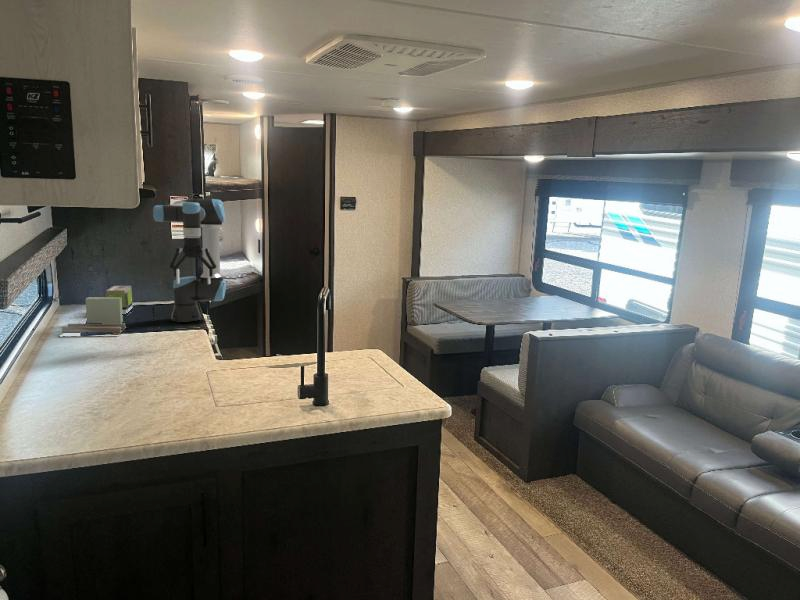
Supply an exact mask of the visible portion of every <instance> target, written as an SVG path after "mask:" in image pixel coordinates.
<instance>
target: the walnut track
mask: <svg viewBox="0 0 800 600" xmlns="http://www.w3.org/2000/svg"><path fill="white" fill-rule="evenodd" d="M126 326H127V325H126V323H125V322H123V323H102V324H87V323H68V324H67V326H62V327H61V333H80V332H112V333H113V334H111V335H119V334H120V333H121V332H122V331H123V330H124V329H125V328H127V327H126ZM121 329H123V330H121Z"/></svg>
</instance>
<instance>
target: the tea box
mask: <svg viewBox="0 0 800 600" xmlns="http://www.w3.org/2000/svg"><path fill="white" fill-rule="evenodd" d="M105 297H122V314H126V313H128V312H129V311H130V310H131V309H132V308H133V307H134V305H133V294H132V285H113V286H111V287H109V288H108V289H106V290H105ZM133 309H134V308H133Z"/></svg>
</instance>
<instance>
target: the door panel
mask: <svg viewBox="0 0 800 600" xmlns="http://www.w3.org/2000/svg"><path fill="white" fill-rule="evenodd" d="M85 308H86V309H85V312H86V313H85V314H86V315H85V316H86V324H87V323H90V322H91V323H122V322H123V323H124V319H123V318H124V316H123V315H122V297H106V296H105V297H103V296H101V297H97V296H96V297H94V296H93V297H86V298H85Z"/></svg>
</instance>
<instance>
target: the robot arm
mask: <svg viewBox="0 0 800 600" xmlns="http://www.w3.org/2000/svg"><path fill="white" fill-rule="evenodd" d="M152 216H153V220H154V221H155V222H159V223H160V222H161V223H182V233H183V234H182V236H183V247H178V246H177V247H176V250H175V254H174V256H173V258H172V260H171V262H170V264H169V269H172V270H173V276H174V277H175V278H176V279H174V280H173V287H172V288H173V304H174V305H173V310H172V313H171V316H170V319H172V320H175V321H196V320H199V319H200V318H201V319H202V316H201V315H202V314H201V312H200V310H199V307H198V302H221V301H223V300H224V299H225V297H226V296H225V294H226V291H227V280H226V279H225V278H224V276H223V274H222V273H221V257H220V256H221V254H220V253H221V252H220V250H221V249H220V247H221V246H220V228H221V227H222V225H223V223H225V222H226V214H225V208H224V204H223V201H222V200H221V199H216V198H187V199H181V200H177V201H175V202H174V203H172V204H166V205H165V204H159V205H157V204H156V205H154V206H153V209H152ZM201 228H202V229H201ZM201 236H202V238H201ZM182 252H183V253H184V255H183V256H182V257H181V258H180V260H178V262H177V263H176V261H177V259H179V258H178V257H179V256H180V253H182ZM187 258H188V259H191V258H194V259H197V258H198V259H199V260H200V261H201V262H202V271H203V272H202V274H201V275H200V279H197V276H192V275H191V276H184V277H180V268H179V267H180V266H181V265H182V263H183V262H184V261H185V260H186V259H187Z"/></svg>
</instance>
